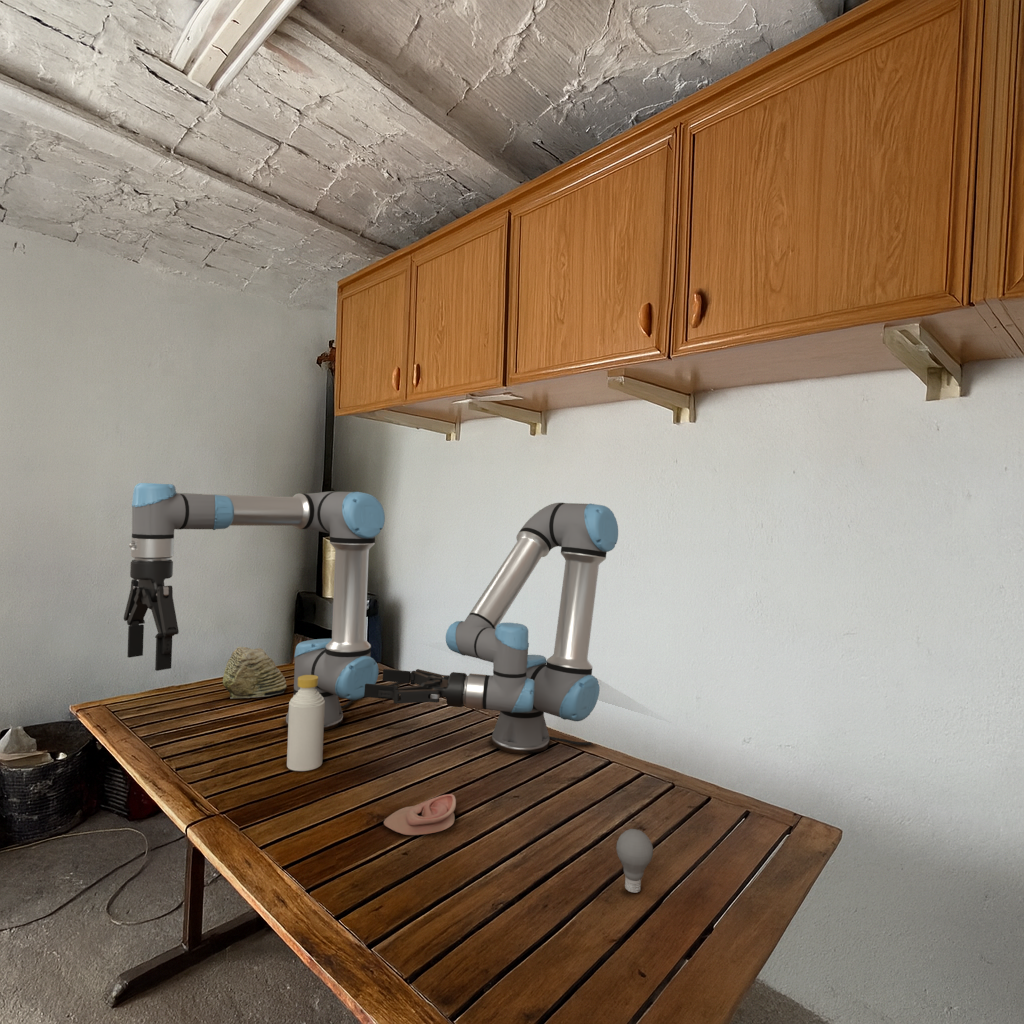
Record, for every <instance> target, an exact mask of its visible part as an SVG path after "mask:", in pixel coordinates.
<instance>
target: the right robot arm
mask: <svg viewBox="0 0 1024 1024" xmlns="http://www.w3.org/2000/svg"><path fill="white" fill-rule="evenodd" d="M618 539H619V525H618V520H617V518H616V516H615V514H614V512H613V511H612V510H611V508H609V507H608V506H606V505H602V504H595V503H577V502H575V503H571V502H554V503H550V504H548V505H546V506H544V507H543V508H542V509H539V510H538V511H537V512H535V513H534V514H533V515H532V516H530V518H529V519H528V520H527V521H526V522H525V523H524V524H523V525H522V527H521V529H520V530H519V531H518V533H517V535H516V543H515V544H514V546H513V547H512V549H511V550H510V552H509V553H508V555H507V556H506V557H505V559H504V561H503V562H502V563H501V565H500V566H499V568H498V570H497V571H496V572H495V574H494V576H493V578H492V579H491V580H490V582H489V583H488V585H487V586H486V588H485V590H484V591H483V593H481V595H480V597H479V598H478V600H477V601H476V603H475V605H474V606H473V607H472V609H471V610H470V612H469V614H468V615H467V616H466V618H465V619H464V620H456V621H454V622H453V623H451V624H450V625H449V626H448V628H447V629H446V633H445V643H446V646H447V648H448V649H449V650H450V651H452V652H454V653H456V654H459V655H461V656H464V657H465V656H466V657H470V658H475V659H479V660H481V661H486V662H490V663H492V664H493V666H492V667H493V669H492V673H493V674H491V675H489V674H481V673H472V672H471V673H469V674H467V673H466V672H458V671H457V672H455V671H453V672H450V673H449V674H440V673H437V672H432V671H428V670H423V669H420V668H417V669H415V670H402V669H401V670H400V669H391V668H390V669H389V668H383V670H382V682H391V683H397V682H399V683H400V684H410V686H402V687H401V686H400V687H399V686H398V685H394V686H387V685H385V684H365V692H364V697H363V698H372V699H384V700H392V701H393V704H395V705H397V704H413V703H435V704H436V703H439V702H440V698H444V699H446V701H445V702H446V705H447V706H448V707H452V708H453V707H454V708H463V707H466V708H467V709H475V712H479V711H480V710H489V711H496V712H499V715H498V717H497V720H496V723H495V726H494V728H493V731H492V734H491V744H492V745H493V746H494V747H495V748H496V749H498V750H500V751H503V752H506V753H509V754H516V755H531V754H532V755H533V754H537V753H542V752H544V751H546V750H547V749H548V748H549V747H550V740H552V741H557V742H562V743H566V744H571V745H577V746H592V744H593V743H592V742H591V741H574V740H569V739H566V738H562V737H557V736H551V735H550V733H549V730H548V726H547V722H546V719H545V713H546V714H549V715H551V716H554V717H558V718H560V719H562V720H564V721H565V720H568V721H571V722H581V721H584V720H585V719H587V718H588V717H589V716H590V715H591V713H592V712H593V710H594V709H595V708H596V705H597V704H598V700H599V697H600V689H601V688H600V684H599V683H600V682H599V679H597V677H595V676H594V675H593V665H592V664H591V663H590V661H589V659H588V658H589V650H590V642H591V633H592V624H593V617H594V610H595V601H596V593H597V585H598V576H599V569H600V568H599V567H600V564H602V563H603V562H604V561H605V560H606V559H607V553H609V552H611V551H613V550H614V549H615V547H616V545H617V543H618ZM556 547H557V548H558V547H560V555H561V556H562V557H563V558H564V560H565V562H564V570H563V577H562V586H561V592H560V593H561V594H560V601H559V609H558V617H557V624H556V625H557V626H556V633H555V639H554V640H555V641H554V647H553V653H552V655H551V656H550V657H548V658H546V656H544V655H541V654H529V647H530V643H529V628H528V626H526V625H525V624H522V623H519V622H502V620H503V619H504V617H505V616H506V614H507V613H508V612H509V609H510V608H511V606H512V604H513V603H514V602H515V600H516V598H517V597H518V595H519V594H520V592H521V591H522V589H523V587H524V585H525V584H526V583H527V581H528V579H529V578H530V576H531V574H532V573H533V571H534V570H535V568H536V567H537V565H538V564H539V562H540V560H541V559H542V558H545V557H547V556H548V555H549V553H550V551H551V550H552V549H554V548H556Z"/></svg>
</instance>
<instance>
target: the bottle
mask: <svg viewBox="0 0 1024 1024" xmlns="http://www.w3.org/2000/svg"><path fill="white" fill-rule="evenodd" d="M324 709H325V700H324V698H323V697H322V696H321V694H319V692H318V691H317V689H315V687H312V688H301V687H300V690H298V692H297V693H296V695H294V694H293V695H292V697H291V698H290V701H289V702H288V710H289V720H288V727H287V746H286V747H287V748H286V749H287V751H286V768H288V769H289V770H290V771H295V772H308V771H312V770H316V769H318V768H319V767H321V766H322V764H323V758H324V733H325V731H324Z"/></svg>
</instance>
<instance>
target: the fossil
mask: <svg viewBox="0 0 1024 1024" xmlns="http://www.w3.org/2000/svg"><path fill="white" fill-rule="evenodd" d="M222 676H223V677H222V685H223V687H224V688H225V690H226V691H228V693H229V698H230V699H250V698H264V697H271V696H275V695H281V694H284V693H285V691H286V689H287V687H288V686H287V680H286V678H285V676H284V674H283V673H282V672H281V669H279V668H278V667H277V665H276V663H275V662H274V660H273V659H272V658H271V657H270V656H269V655H268V654H267V653H266V652H265V650H264V649H263V648H260V647H258V648H251V647H247V646H246V647H245V646H238V647H237V648H236V649H235V650H233V651H232V653H231V656H230V657H229V659H228V660H227V663H226V666H225V668H224V671H223V675H222Z"/></svg>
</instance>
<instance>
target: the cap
mask: <svg viewBox="0 0 1024 1024" xmlns="http://www.w3.org/2000/svg"><path fill="white" fill-rule="evenodd" d="M317 685H318V676H315V675H303V676H300V677H298V687H301V688H312V687H316V686H317Z"/></svg>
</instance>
